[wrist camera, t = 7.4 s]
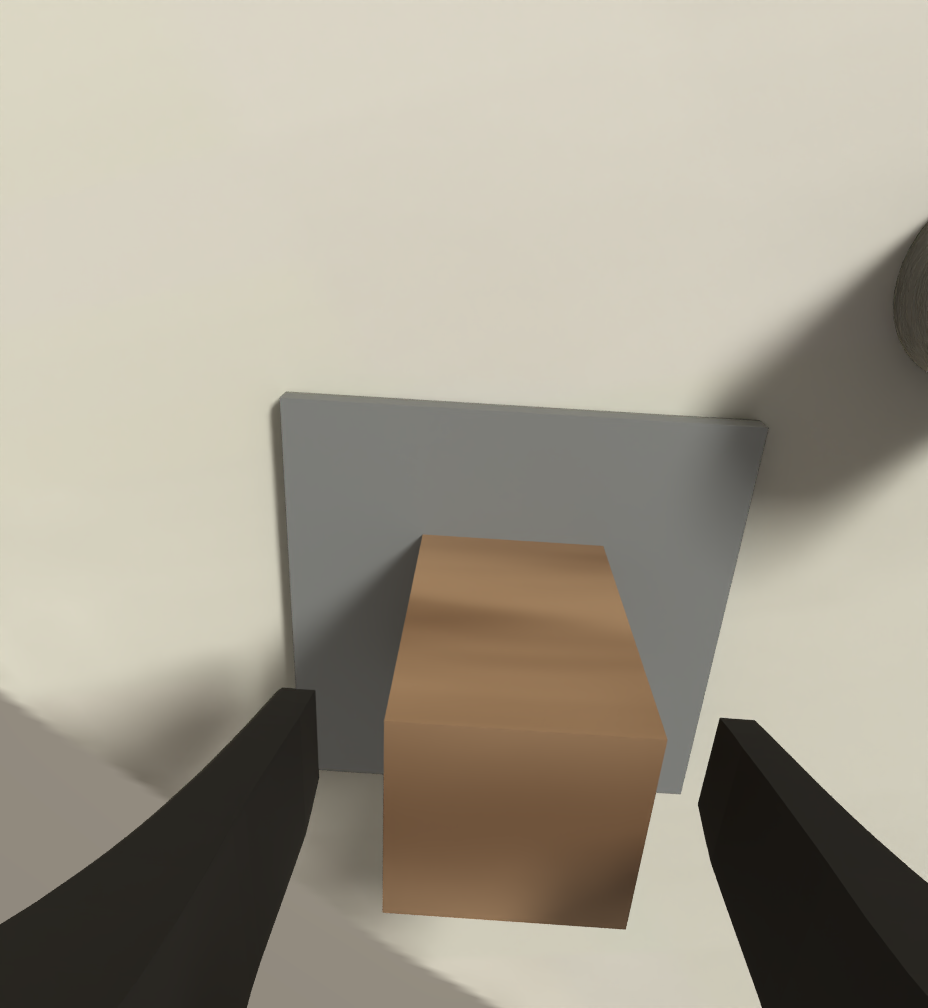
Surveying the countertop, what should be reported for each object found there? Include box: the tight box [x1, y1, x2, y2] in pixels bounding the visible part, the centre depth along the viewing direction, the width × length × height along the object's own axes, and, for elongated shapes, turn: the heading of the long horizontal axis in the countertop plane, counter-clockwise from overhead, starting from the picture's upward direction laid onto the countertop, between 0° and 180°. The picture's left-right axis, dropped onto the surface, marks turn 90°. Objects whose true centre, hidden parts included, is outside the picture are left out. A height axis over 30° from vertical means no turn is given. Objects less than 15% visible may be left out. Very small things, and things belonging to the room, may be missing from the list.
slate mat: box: [280, 392, 769, 794], centre depth 16 cm, size 10×10×1 cm
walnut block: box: [383, 534, 668, 929], centre depth 13 cm, size 4×4×6 cm
